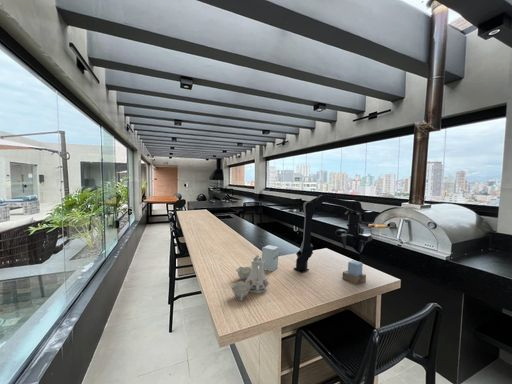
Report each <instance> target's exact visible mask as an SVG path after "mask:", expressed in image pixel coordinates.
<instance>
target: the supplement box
mask: <svg viewBox="0 0 512 384" xmlns="http://www.w3.org/2000/svg"><path fill="white" fill-rule="evenodd" d="M261 259H264V260H265V261H264V264H263V270H264V269H266V270H265V271H267V270H269V271H268V272H271V271H273V272H274V271H276V268H277V269H278V268H279V267H278V266H279V246H275V245H270V244H267V245H266V246H263V247H262V248H261Z"/></svg>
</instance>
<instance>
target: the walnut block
mask: <svg viewBox="0 0 512 384" xmlns="http://www.w3.org/2000/svg"><path fill="white" fill-rule="evenodd" d="M341 278H342V280H345V281H346V282H349V283H350V284H354V285H355V286H357V285H360V284H363V283H366V282H367V280H366V278H367V275H366V273H365V274H364V273H363V272H362V275H360V276H354V275H351V274H349V273H348V270H344V271H342V277H341Z"/></svg>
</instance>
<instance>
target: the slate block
mask: <svg viewBox="0 0 512 384" xmlns="http://www.w3.org/2000/svg"><path fill="white" fill-rule="evenodd" d="M347 271H348V273H349V274H351V275H354V276H360V275H362V273H363V262H361V261H357V260H354V259H353V260H351V261H348V263H347Z"/></svg>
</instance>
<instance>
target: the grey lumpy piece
mask: <svg viewBox="0 0 512 384" xmlns="http://www.w3.org/2000/svg"><path fill="white" fill-rule="evenodd" d="M264 261H265V260H264V259H262V257H260V255H259V254H257V255H255V256H254V257H253V258H251V259H250V262H251V263H250V264H251V267H250V266H245V267H244V266H239V267H238V268H236V269H235V271H236V273H237V275H238V277H239V278H240V281H237V282H232V283H231V284H230V285H231V286H230V288H231V290H232V293H233V295H234V296H235V297H236V299H238V301H241V302H242V301H243V300H244V299H245V298H246V297H247V295H249V292H250V293H253V294H262V293H265V291H266V290H267V289H266V288H267V287H268V286H269V280H268V278H267V277H266V275H265V270H264V269H263V264H264Z"/></svg>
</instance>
